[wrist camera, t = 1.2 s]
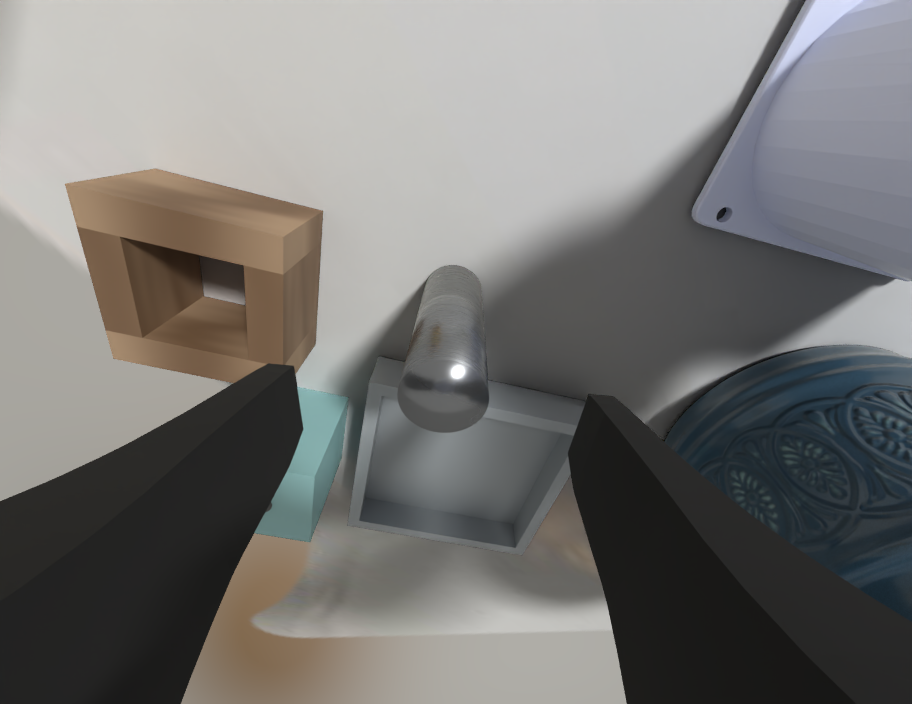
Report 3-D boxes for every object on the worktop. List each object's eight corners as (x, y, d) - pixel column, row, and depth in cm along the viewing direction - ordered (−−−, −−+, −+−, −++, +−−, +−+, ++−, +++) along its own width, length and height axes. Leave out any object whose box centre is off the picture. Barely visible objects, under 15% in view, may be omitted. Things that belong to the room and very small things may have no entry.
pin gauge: (488, 273, 15) (500, 371, 9) (473, 324, 17) (475, 440, 11) (430, 258, 15) (405, 350, 9) (419, 311, 16) (390, 423, 10)
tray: (585, 401, 19) (597, 429, 17) (518, 524, 24) (522, 555, 22) (378, 356, 18) (369, 381, 16) (356, 495, 23) (347, 525, 21)
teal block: (348, 396, 19) (314, 477, 15) (341, 457, 21) (309, 543, 17) (256, 377, 19) (193, 455, 14) (259, 442, 21) (205, 526, 17)
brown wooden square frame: (322, 211, 14) (283, 237, 11) (315, 344, 17) (282, 392, 14) (155, 168, 14) (64, 184, 11) (178, 314, 17) (113, 358, 14)
